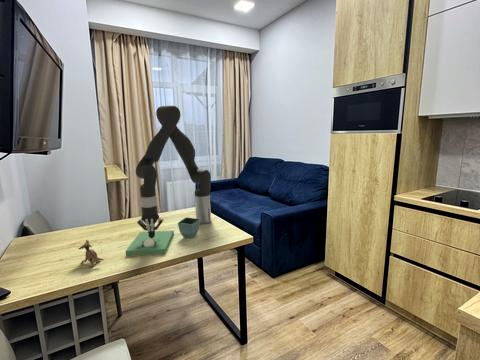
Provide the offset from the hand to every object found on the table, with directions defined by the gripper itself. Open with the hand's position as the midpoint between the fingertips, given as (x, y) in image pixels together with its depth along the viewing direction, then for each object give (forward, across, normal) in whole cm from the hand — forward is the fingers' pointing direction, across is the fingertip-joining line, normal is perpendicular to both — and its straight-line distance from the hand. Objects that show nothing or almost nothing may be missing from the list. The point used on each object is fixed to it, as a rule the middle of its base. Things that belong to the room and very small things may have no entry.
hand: (152, 237), depth 128 cm
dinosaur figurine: (+4, +22, +17) cm, 28 cm away
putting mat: (+4, 0, +1) cm, 4 cm away
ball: (+1, 0, +6) cm, 6 cm away
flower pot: (+4, -18, -7) cm, 20 cm away
